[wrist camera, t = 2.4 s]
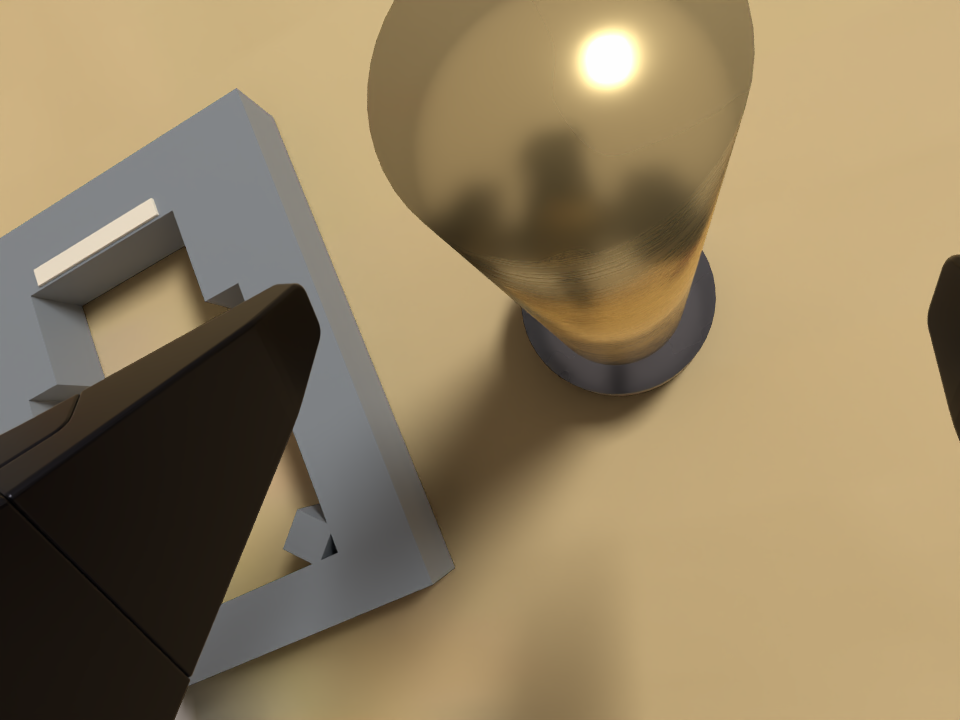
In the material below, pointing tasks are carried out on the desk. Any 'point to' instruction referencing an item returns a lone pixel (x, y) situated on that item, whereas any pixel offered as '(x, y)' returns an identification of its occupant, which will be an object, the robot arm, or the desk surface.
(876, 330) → the desk surface
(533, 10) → the brass peg
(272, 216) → the square frame
